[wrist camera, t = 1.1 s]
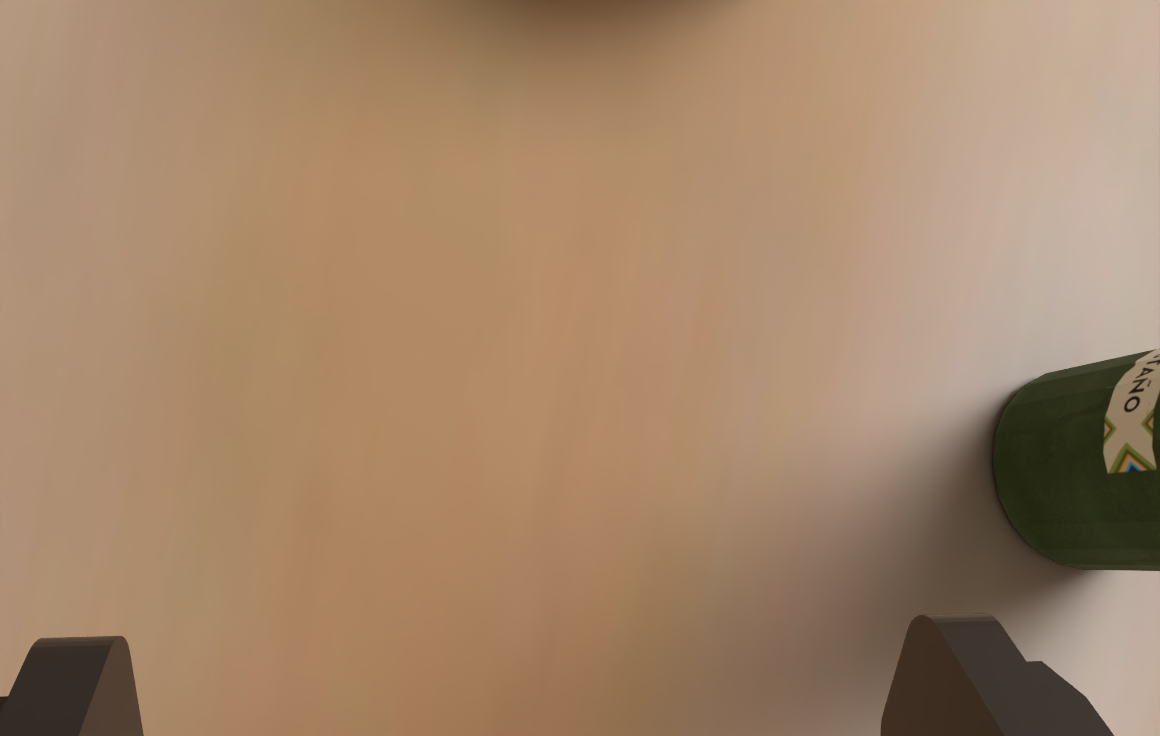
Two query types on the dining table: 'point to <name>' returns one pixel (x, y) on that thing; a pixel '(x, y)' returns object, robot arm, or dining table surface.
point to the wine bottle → (1086, 464)
